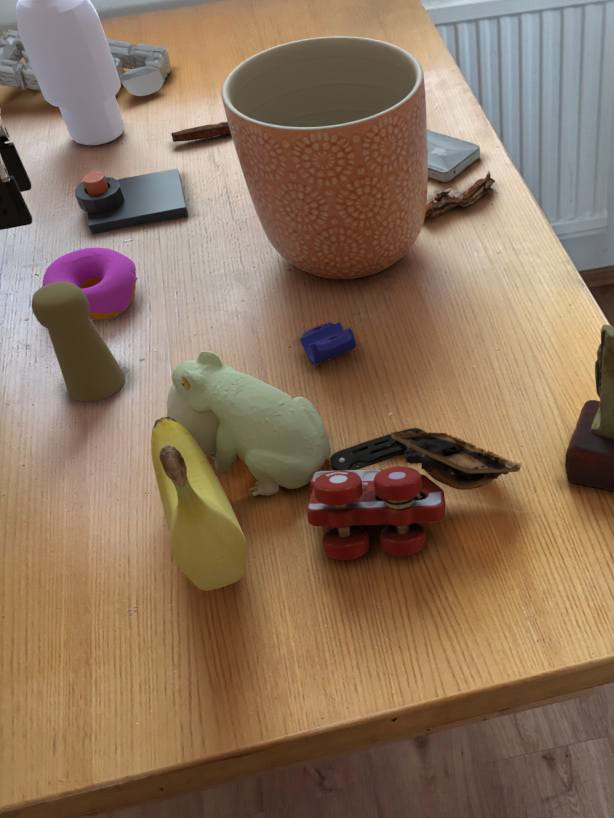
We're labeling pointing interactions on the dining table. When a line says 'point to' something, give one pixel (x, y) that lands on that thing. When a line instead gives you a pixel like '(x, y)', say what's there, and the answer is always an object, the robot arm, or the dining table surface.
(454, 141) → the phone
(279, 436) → the figurine
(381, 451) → the folding knife
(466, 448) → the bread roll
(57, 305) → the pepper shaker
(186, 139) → the kitchen knife
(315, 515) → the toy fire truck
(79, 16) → the soap bottle
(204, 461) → the banana
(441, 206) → the tree bark
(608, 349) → the small statue on base
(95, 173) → the button
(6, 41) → the architectural model
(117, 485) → the dining table surface
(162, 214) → the push button panel
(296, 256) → the planter
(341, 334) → the bracket
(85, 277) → the donut
